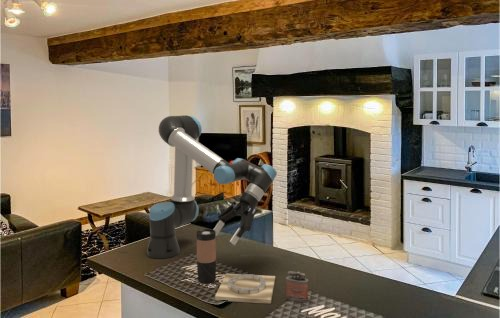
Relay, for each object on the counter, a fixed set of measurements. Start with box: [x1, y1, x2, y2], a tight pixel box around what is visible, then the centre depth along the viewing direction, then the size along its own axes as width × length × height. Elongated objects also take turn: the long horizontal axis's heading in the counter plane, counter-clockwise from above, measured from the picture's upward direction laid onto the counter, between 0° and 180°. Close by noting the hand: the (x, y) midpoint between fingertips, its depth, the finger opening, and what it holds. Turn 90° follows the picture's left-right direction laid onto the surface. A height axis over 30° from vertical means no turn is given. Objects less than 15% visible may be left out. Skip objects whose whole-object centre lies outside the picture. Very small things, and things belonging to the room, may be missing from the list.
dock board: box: [214, 273, 276, 305], centre depth 152 cm, size 20×20×2 cm
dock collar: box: [228, 273, 266, 294], centre depth 152 cm, size 14×14×2 cm
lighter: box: [285, 270, 309, 303], centre depth 144 cm, size 8×3×10 cm, turn 71°
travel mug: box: [196, 228, 217, 285], centre depth 159 cm, size 8×8×20 cm
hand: (222, 239), depth 161 cm, fingers open, 13 cm apart
